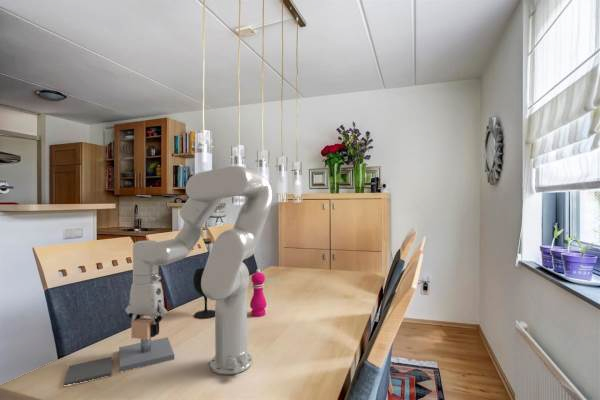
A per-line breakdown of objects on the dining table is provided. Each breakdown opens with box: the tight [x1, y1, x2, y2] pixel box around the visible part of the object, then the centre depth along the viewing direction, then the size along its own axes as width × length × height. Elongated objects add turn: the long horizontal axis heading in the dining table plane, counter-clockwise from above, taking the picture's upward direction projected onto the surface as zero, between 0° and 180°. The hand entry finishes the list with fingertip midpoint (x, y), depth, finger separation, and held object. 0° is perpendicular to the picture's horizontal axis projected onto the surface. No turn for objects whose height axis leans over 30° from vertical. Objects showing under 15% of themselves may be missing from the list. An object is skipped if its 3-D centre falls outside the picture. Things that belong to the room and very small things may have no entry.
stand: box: [118, 337, 175, 372], centre depth 102 cm, size 15×15×2 cm
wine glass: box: [192, 267, 215, 320], centre depth 139 cm, size 10×10×20 cm
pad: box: [63, 356, 113, 386], centre depth 92 cm, size 11×11×1 cm
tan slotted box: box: [130, 315, 161, 340], centre depth 102 cm, size 6×6×5 cm
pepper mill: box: [249, 268, 267, 318], centre depth 139 cm, size 7×7×20 cm
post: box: [140, 337, 152, 353], centre depth 102 cm, size 3×3×8 cm
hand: (146, 333), depth 102 cm, fingers closed on tan slotted box, 5 cm apart
